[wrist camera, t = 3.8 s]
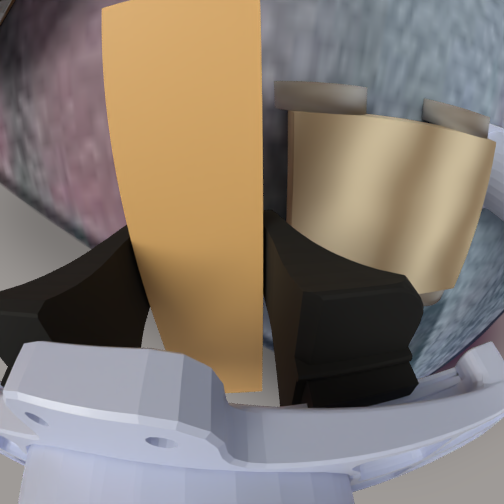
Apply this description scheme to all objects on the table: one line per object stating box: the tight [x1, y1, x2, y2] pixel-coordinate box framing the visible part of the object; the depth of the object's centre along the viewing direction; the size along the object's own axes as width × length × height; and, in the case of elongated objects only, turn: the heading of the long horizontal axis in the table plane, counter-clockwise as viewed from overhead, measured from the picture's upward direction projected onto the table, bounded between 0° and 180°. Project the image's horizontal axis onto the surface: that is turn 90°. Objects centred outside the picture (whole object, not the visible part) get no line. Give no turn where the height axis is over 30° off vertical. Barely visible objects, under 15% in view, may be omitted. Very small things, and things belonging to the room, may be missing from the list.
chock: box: [102, 0, 263, 393], centre depth 11 cm, size 4×16×5 cm, turn 1°
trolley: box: [274, 81, 496, 306], centre depth 18 cm, size 15×15×5 cm
